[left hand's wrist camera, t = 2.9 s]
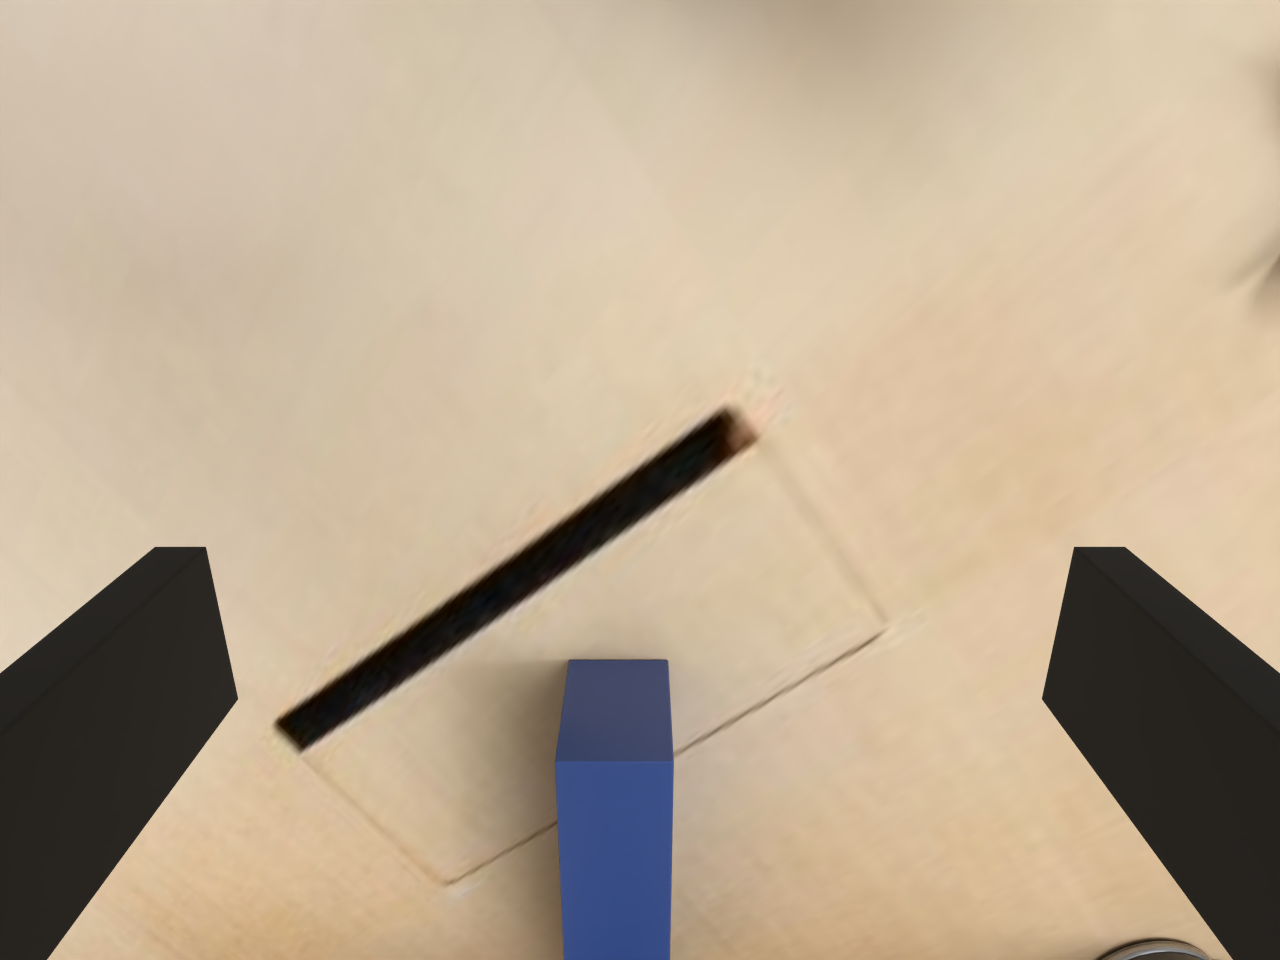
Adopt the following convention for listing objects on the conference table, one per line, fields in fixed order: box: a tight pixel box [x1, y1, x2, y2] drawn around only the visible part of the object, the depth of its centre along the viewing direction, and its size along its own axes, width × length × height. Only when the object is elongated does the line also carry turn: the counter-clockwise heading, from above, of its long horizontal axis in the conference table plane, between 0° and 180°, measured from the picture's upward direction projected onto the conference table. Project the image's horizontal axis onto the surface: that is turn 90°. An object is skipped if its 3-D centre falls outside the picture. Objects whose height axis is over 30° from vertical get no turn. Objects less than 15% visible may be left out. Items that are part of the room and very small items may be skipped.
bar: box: [555, 660, 674, 960], centre depth 47 cm, size 26×6×8 cm, turn 0°
